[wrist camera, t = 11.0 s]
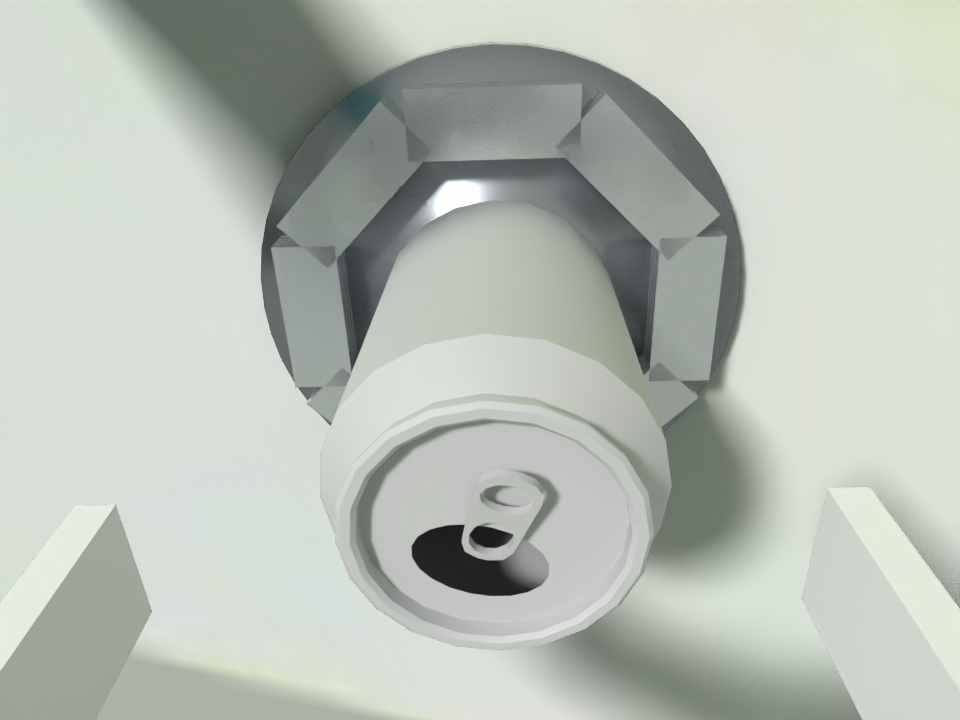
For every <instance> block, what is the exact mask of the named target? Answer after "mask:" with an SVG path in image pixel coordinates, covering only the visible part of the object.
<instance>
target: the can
mask: <svg viewBox="0 0 960 720" xmlns="http://www.w3.org/2000/svg"><path fill="white" fill-rule="evenodd" d="M671 489H672V483H671V475H670V467H669V459H668V452H667V444H666V439H665V436H664V433H663V431H662V428H661V425H660V422H659V419H658V416H657V413H656V410H655V407H654V404H653V402H652V399H651V396H650V393H649V390H648V387H647V384H646V381H645V378H644V375H643V372H642V370H641V367H640V364H639V361H638V358H637V355H636V352H635V349H634V346H633V343H632V341H631V338H630V335H629V332H628V329H627V326H626V323H625V320H624V317H623V314H622V311H621V309H620V306H619V303H618V300H617V297H616V294H615V291H614V288H613V285H612V282H611V280H610V277H609V274H608V272H607V270H606V269H605V267H604V265H603V263H602V261H601V259H600V257H599V256H598V254H597V252H596V250H595V248H594V246H593V245H592V243H591V242H589V241H588V240H587V239H586V238H585V237H584V236H583V235H582V234H581V233H580V232H578V231H577V230H576V229H575V228H574V227H573V226H572V225H571V224H570V223H569V222H568V221H566V220H565V219H563V218H561V217H559V216H556V215H554V214H552V213H550V212H547V211H545V210H543V209H541V208H538V207H536V206H534V205H531V204H525V203H515V202H506V201H496V200H490V201H485V202H481V203H476V204H471V205H466V206H462V207H457V208H454V209H452V210H450V211H448V212H447V213H445V214H443V215H441V216H440V217H438V218H436V219H435V220H433V221H431V222H429V223H428V224H426V225H424V226H422V227H421V228H420V230H419V231H418V232H417V233H416V234H415V235H414V236H413V238H412V239H411V240H410V241H409V242H408V243H407V244H406V246H405V247H404V248H403V249H402V250H401V251H400V252H399V254H398V256H397V259H396V261H395V264H394V266H393V269H392V271H391V274H390V276H389V279H388V281H387V284H386V286H385V289H384V291H383V294H382V296H381V299H380V301H379V304H378V306H377V309H376V312H375V314H374V317H373V319H372V322H371V324H370V327H369V329H368V332H367V335H366V337H365V340H364V342H363V345H362V347H361V350H360V352H359V355H358V358H357V360H356V363H355V365H354V368H353V370H352V373H351V375H350V378H349V381H348V383H347V386H346V388H345V391H344V393H343V396H342V398H341V401H340V404H339V406H338V409H337V411H336V414H335V416H334V419H333V421H332V424H331V427H330V429H329V432H328V434H327V437H326V439H325V442H324V444H323V447H322V450H321V452H320V497H321V500H322V503H323V505H324V508H325V510H326V513H327V515H328V518H329V520H330V523H331V525H332V528H333V530H334V533H335V543H336V545H337V548H338V550H339V553H340V555H341V558H342V560H343V562H344V565H345V567H346V570H347V572H348V575H349V577H350V579H351V580H352V581H353V582H354V584H355V585H356V586H357V587H358V588H359V589H360V590H361V592H362V593H363V594H364V595H365V596H366V597H367V598H368V600H369V601H370V602H371V603H372V604H373V605H374V606H375V608H376V609H377V610H379V611H381V612H382V613H384V614H385V615H387V616H389V617H390V618H392V619H393V620H395V621H396V622H398V623H400V624H401V625H403V626H404V627H406V628H407V629H409V630H411V631H412V632H414V633H417V634H420V635H423V636H426V637H429V638H432V639H435V640H438V641H441V642H444V643H447V644H450V645H453V646H457V647H468V648H479V649H489V650H500V651H501V650H508V649H516V648H524V647H531V646H539V645H545V644H548V643H550V642H553V641H556V640H558V639H561V638H564V637H566V636H569V635H571V634H574V633H577V632H579V631H582V630H584V629H587V628H588V627H590V626H591V625H592V624H594V623H595V622H596V621H598V620H599V619H601V618H602V617H603V616H605V615H606V614H607V613H609V612H610V611H612V610H613V609H614V608H616V607H617V606H618V605H620V604H621V603H622V601H623V600H624V598H625V597H626V596H627V594H628V593H629V592H630V590H631V589H632V587H633V586H634V585H635V583H636V582H637V581H638V579H639V578H640V576H641V575H642V574H643V572H644V570H645V566H646V563H647V559H648V555H649V551H650V547H651V544H652V541H653V540H654V538H655V537H656V536H657V534H658V533H659V531H660V530H661V526H662V522H663V519H664V515H665V511H666V507H667V504H668V500H669V496H670V493H671Z"/></svg>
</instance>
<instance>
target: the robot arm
mask: <svg viewBox="0 0 960 720" xmlns="http://www.w3.org/2000/svg"><path fill="white" fill-rule="evenodd" d="M802 600H803V602H804V604H805V606H806V608H807V610H808V612H809V614H810V616H811V618H812V620H813V622H814V624H815V626H816V628H817V630H818V632H819V634H820V636H821V638H822V640H823V642H824V644H825V646H826V648H827V650H828V652H829V654H830V656H831V658H832V660H833V662H834V664H835V666H836V668H837V670H838V672H839V674H840V676H841V678H842V680H843V682H844V684H845V686H846V688H847V690H848V692H849V694H850V696H851V698H852V700H853V702H854V704H855V706H856V708H857V710H858V712H859V714H860V716H861V718H862V720H960V608H959V607H958V606H957V604H956V603H955V602H954V600H953V599H952V597H951V596H950V595H949V593H948V592H947V591H946V589H945V588H944V587H943V585H942V584H941V583H940V581H939V580H938V579H937V577H936V576H935V575H934V573H933V572H932V570H931V569H930V568H929V566H928V565H927V564H926V562H925V561H924V560H923V558H922V557H921V556H920V554H919V553H918V552H917V550H916V549H915V547H914V546H913V545H912V543H911V542H910V541H909V539H908V538H907V537H906V535H905V534H904V533H903V531H902V530H901V529H900V527H899V526H898V524H897V523H896V522H895V520H894V519H893V518H892V516H891V515H890V514H889V512H888V511H887V510H886V508H885V507H884V506H883V504H882V503H881V502H880V500H879V499H878V497H877V496H876V495H875V493H874V492H873V491H872V489H871V488H870V487H843V488H827V490H826V495H825V499H824V503H823V508H822V512H821V516H820V521H819V525H818V529H817V534H816V538H815V542H814V546H813V551H812V555H811V559H810V564H809V568H808V572H807V577H806V581H805V585H804V589H803V594H802ZM151 612H152V610H151V607H150V604H149V601H148V598H147V595H146V592H145V589H144V587H143V584H142V581H141V578H140V575H139V572H138V569H137V566H136V563H135V560H134V557H133V554H132V551H131V548H130V546H129V543H128V540H127V537H126V534H125V531H124V528H123V525H122V522H121V519H120V516H119V513H118V510H117V507H116V505H84V506H74V508H73V509H72V510H71V512H70V513H69V514H68V516H67V517H66V518H65V520H64V521H63V522H62V523H61V525H60V526H59V527H58V529H57V530H56V531H55V533H54V534H53V535H52V536H51V538H50V539H49V540H48V542H47V543H46V544H45V546H44V547H43V548H42V549H41V551H40V552H39V553H38V555H37V556H36V557H35V559H34V560H33V561H32V563H31V564H30V565H29V566H28V568H27V569H26V570H25V572H24V573H23V574H22V576H21V577H20V578H19V579H18V581H17V582H16V583H15V585H14V586H13V587H12V589H11V590H10V591H9V592H8V594H7V595H6V596H5V598H4V599H3V600H2V602H1V603H0V720H96V718H97V716H98V714H99V712H100V710H101V708H102V706H103V704H104V702H105V701H106V699H107V697H108V695H109V693H110V691H111V689H112V687H113V685H114V683H115V681H116V679H117V677H118V676H119V674H120V672H121V669H122V668H123V666H124V664H125V662H126V660H127V658H128V656H129V655H130V653H131V651H132V649H133V647H134V645H135V643H136V641H137V639H138V637H139V635H140V633H141V632H142V630H143V628H144V626H145V624H146V622H147V620H148V618H149V616H150V614H151Z"/></svg>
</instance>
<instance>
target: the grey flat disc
mask: <svg viewBox="0 0 960 720" xmlns="http://www.w3.org/2000/svg"><path fill="white" fill-rule="evenodd" d="M490 200H496V201H506V202H515V203H525V204H531V205H534V206H536V207H538V208H541V209H543V210H545V211H547V212H550V213H552V214H554V215H556V216H559V217H561V218H563V219H565V220H566V221H568V222H569V223H570V224H571V225H572V226H573V227H574V228H575V229H576V230H577V231H578V232H580V233H581V234H582V235H583V236H584V237H585V238H586V239H587V240H588V241H589V242H591V243H592V245H593V246H594V248H595V250H596V252H597V254H598V256H599V257H600V259H601V261H602V263H603V265H604V267H605V269H606V270H607V272H608V274H609V277H610V280H611V282H612V285H613V288H614V291H615V294H616V297H617V300H618V303H619V306H620V309H621V311H622V314H623V317H624V320H625V323H626V326H627V329H628V332H629V335H630V338H631V341H632V343H633V346H634V349H635V352H636V355H637V358H638V361H639V364H640V367H641V370H642V372H643V375H644V378H645V381H646V384H647V387H648V390H649V393H650V396H651V399H652V402H653V404H654V407H655V410H656V413H657V416H658V419H659V422H660V425H661V428H662V431H663V432H664V431H665V430H666V429H667V428H669V427H670V426H671V425H672V424H673V423H674V422H675V421H676V420H677V419H678V418H679V417H680V416H681V415H682V414H683V412H684V411H685V410H686V409H687V408H688V407H689V406H690V405H691V404H692V403H693V402H694V401H695V400H697V399H698V394H699V393H700V391H701V390H702V388H703V387H704V386H705V384H706V383H707V381H708V380H709V378H710V377H711V375H712V373H713V371H714V369H715V367H716V365H717V363H718V361H719V359H720V357H721V355H722V353H723V351H724V348H725V346H726V343H727V340H728V337H729V334H730V332H731V329H732V326H733V322H734V317H735V312H736V308H737V303H738V298H739V287H740V271H741V263H740V250H739V237H738V233H737V228H736V224H735V219H734V215H733V211H732V206H731V204H730V201H729V199H728V196H727V194H726V191H725V188H724V186H723V183H722V181H721V178H720V176H719V174H718V173H717V171H716V169H715V167H714V166H713V164H712V162H711V160H710V159H709V157H708V155H707V153H706V152H705V150H704V148H703V147H702V146H701V144H700V143H699V142H698V141H697V139H696V138H695V137H694V136H693V134H692V133H691V132H690V131H689V129H688V128H687V127H686V125H685V124H684V123H683V122H682V121H681V120H680V119H679V118H678V117H677V116H676V115H675V114H674V113H672V112H671V111H670V110H669V109H668V108H667V107H666V106H665V105H664V104H663V103H662V102H661V101H660V100H659V99H657V98H656V97H655V96H654V95H652V94H651V93H650V92H648V91H647V90H645V89H644V88H642V87H641V86H640V85H638V84H637V83H635V82H634V81H632V80H631V79H629V78H628V77H627V76H625V75H623V74H621V73H619V72H617V71H615V70H613V69H611V68H609V67H607V66H605V65H603V64H601V63H599V62H597V61H595V60H592V59H589V58H586V57H583V56H580V55H577V54H574V53H571V52H568V51H565V50H561V49H556V48H550V47H545V46H539V45H533V44H528V43H502V42H489V43H479V44H470V45H461V46H455V47H451V48H447V49H443V50H439V51H435V52H431V53H427V54H423V55H421V56H418V57H416V58H414V59H411V60H409V61H406V62H404V63H401V64H399V65H397V66H394V67H392V68H390V69H388V70H387V71H385V72H383V73H381V74H380V75H378V76H376V77H375V78H373V79H371V80H370V81H368V82H366V83H365V84H363V85H361V86H360V87H359V88H358V89H356V90H355V91H354V92H353V93H351V94H350V95H349V96H348V97H346V98H345V99H344V100H343V101H341V102H340V103H339V104H338V105H337V106H335V107H334V108H333V109H332V110H330V112H329V113H328V114H327V115H326V116H325V117H324V118H323V119H322V120H321V121H320V122H319V123H318V124H317V126H316V127H315V128H314V129H313V130H312V131H311V132H310V133H309V134H308V136H307V137H306V138H305V140H304V141H303V143H302V144H301V146H300V147H299V149H298V150H297V152H296V153H295V155H294V156H293V157H292V159H291V160H290V162H289V164H288V166H287V168H286V170H285V172H284V174H283V176H282V178H281V180H280V182H279V185H278V187H277V189H276V191H275V194H274V197H273V201H272V204H271V207H270V210H269V213H268V216H267V220H266V226H265V232H264V238H263V244H262V255H261V283H262V291H263V300H264V307H265V311H266V315H267V319H268V323H269V327H270V331H271V334H272V337H273V339H274V342H275V344H276V347H277V349H278V352H279V354H280V357H281V359H282V361H283V363H284V365H285V366H286V368H287V370H288V372H289V373H290V375H291V377H292V379H293V381H294V382H295V387H298V388H299V390H300V391H301V392H302V394H303V395H304V396H305V398H306V399H307V400H308V402H307V405H308V406H310V407H311V408H313V409H314V410H315V411H317V412H318V413H319V414H320V415H321V416H322V417H323V418H324V419H325V421H326V422H327V423H328V424H329V425H330V426H331V424H332V421H333V419H334V416H335V414H336V411H337V409H338V406H339V404H340V401H341V398H342V396H343V393H344V391H345V388H346V386H347V383H348V381H349V378H350V375H351V373H352V370H353V368H354V365H355V363H356V360H357V358H358V355H359V352H360V350H361V347H362V345H363V342H364V340H365V337H366V335H367V332H368V329H369V327H370V324H371V322H372V319H373V317H374V314H375V312H376V309H377V306H378V304H379V301H380V299H381V296H382V294H383V291H384V289H385V286H386V284H387V281H388V279H389V276H390V274H391V271H392V269H393V266H394V264H395V261H396V259H397V256H398V254H399V252H400V251H401V250H402V249H403V248H404V247H405V246H406V244H407V243H408V242H409V241H410V240H411V239H412V238H413V236H414V235H415V234H416V233H417V232H418V231H419V230H420V228H421V227H422V226H424V225H426V224H428V223H429V222H431V221H433V220H435V219H436V218H438V217H440V216H441V215H443V214H445V213H447V212H448V211H450V210H452V209H454V208H457V207H462V206H466V205H471V204H476V203H481V202H485V201H490Z"/></svg>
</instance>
